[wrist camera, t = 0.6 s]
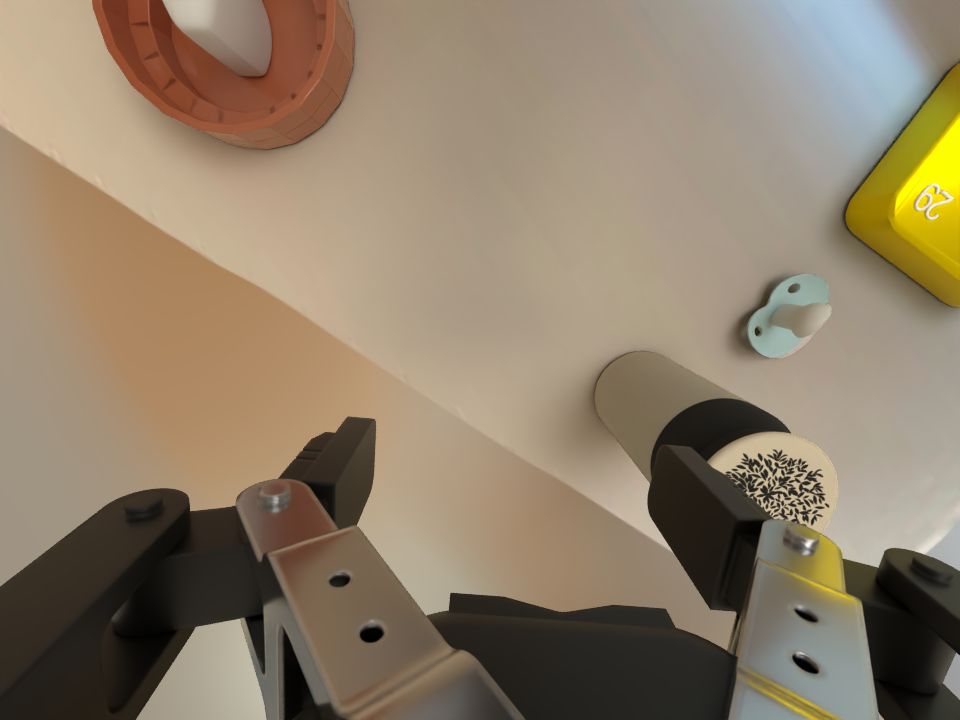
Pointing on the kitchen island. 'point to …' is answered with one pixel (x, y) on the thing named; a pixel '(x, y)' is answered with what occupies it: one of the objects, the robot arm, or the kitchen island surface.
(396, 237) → the kitchen island surface
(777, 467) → the travel mug
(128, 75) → the bowl
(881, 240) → the element tile
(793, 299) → the pacifier
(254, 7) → the eye dropper bottle
